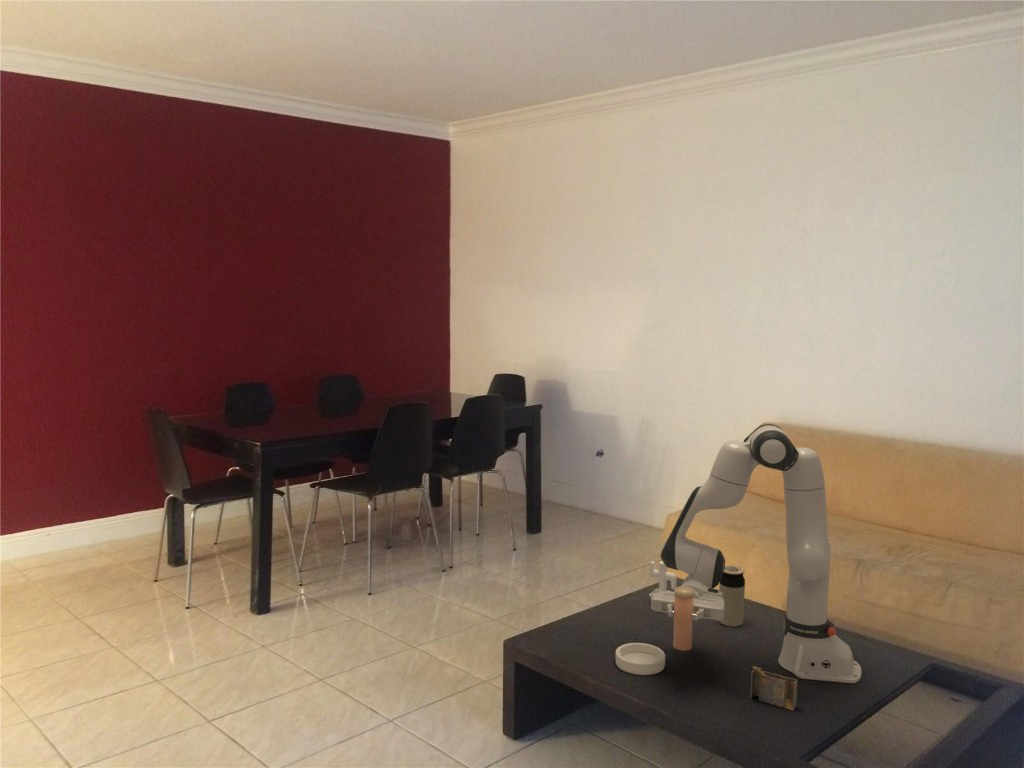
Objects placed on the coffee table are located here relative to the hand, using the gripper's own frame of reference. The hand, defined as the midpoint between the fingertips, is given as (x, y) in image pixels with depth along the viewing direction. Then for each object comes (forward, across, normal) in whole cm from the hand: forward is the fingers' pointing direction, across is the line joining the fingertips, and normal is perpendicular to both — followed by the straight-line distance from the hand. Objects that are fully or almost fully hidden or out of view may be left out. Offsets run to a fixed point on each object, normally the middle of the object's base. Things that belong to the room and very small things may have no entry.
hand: (682, 616), depth 226 cm
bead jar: (-1, 0, +9) cm, 9 cm away
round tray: (-9, -14, +20) cm, 26 cm away
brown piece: (0, +24, +21) cm, 32 cm away
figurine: (-57, -17, +20) cm, 63 cm away
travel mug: (-50, +7, +20) cm, 54 cm away
